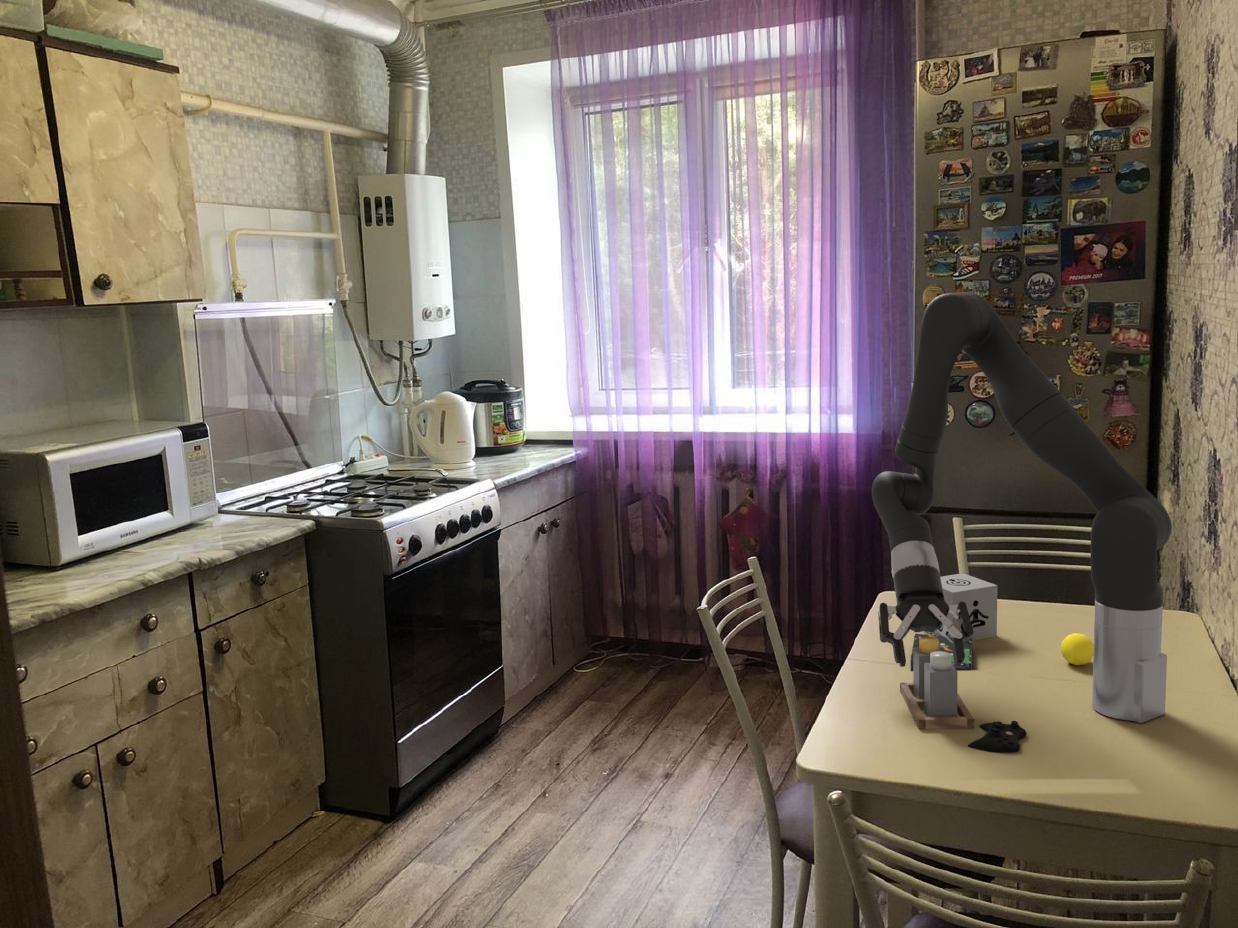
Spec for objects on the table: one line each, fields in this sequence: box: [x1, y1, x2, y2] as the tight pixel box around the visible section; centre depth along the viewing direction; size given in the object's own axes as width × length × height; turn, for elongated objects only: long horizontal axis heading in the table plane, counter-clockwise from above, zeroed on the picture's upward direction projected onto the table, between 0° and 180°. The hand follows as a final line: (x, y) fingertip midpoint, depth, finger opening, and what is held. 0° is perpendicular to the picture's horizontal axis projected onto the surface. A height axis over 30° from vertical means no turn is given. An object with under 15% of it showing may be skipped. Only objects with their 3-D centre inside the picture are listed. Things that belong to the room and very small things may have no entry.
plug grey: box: [924, 651, 958, 717], centre depth 153 cm, size 4×4×10 cm
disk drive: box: [910, 633, 973, 672], centre depth 182 cm, size 10×3×15 cm
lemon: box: [1060, 632, 1094, 666], centre depth 177 cm, size 7×5×5 cm
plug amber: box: [912, 635, 942, 699], centre depth 160 cm, size 4×4×10 cm
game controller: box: [967, 720, 1028, 754], centre depth 145 cm, size 10×5×7 cm
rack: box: [899, 682, 975, 730], centre depth 157 cm, size 8×15×3 cm, turn 175°
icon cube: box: [929, 573, 998, 641], centre depth 195 cm, size 10×10×10 cm
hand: (930, 664), depth 159 cm, fingers open, 8 cm apart
